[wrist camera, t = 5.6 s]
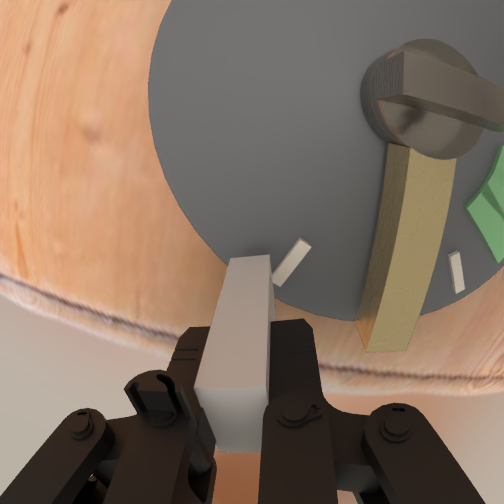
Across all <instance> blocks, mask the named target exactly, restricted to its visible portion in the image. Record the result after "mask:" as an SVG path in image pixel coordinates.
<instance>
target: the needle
mask: <svg viewBox="0 0 504 504" xmlns="http://www.w3.org/2000/svg"><path fill="white" fill-rule="evenodd" d="M361 104H362V108H363V112H364V114H365V117H366V119H367V121H368V123H369V125H370V126H371V127H372V129H373V130H374V131H375V133H376V134H377V135H378V136H379V137H380V138H381V139H382V140H384V141H385V142H387V143H388V151H387V160H386V168H385V176H384V184H383V191H382V198H381V204H380V211H379V217H378V223H377V228H376V234H375V239H374V245H373V250H372V255H371V260H370V264H369V269H368V274H367V278H366V283H365V287H364V291H363V296H362V300H361V304H360V308H359V312H358V316H357V320H356V326H357V328H358V331H359V334H360V337H361V340H362V343H363V346H364V349H365V352H396V351H406V349H407V346H408V344H409V341H410V339H411V336H412V334H413V331H414V328H415V325H416V323H417V320H418V317H419V314H420V311H421V308H422V306H423V303H424V300H425V296H426V293H427V290H428V287H429V284H430V280H431V277H432V274H433V270H434V267H435V263H436V259H437V256H438V252H439V248H440V244H441V240H442V236H443V231H444V227H445V222H446V218H447V213H448V208H449V203H450V197H451V192H452V186H453V180H454V173H455V166H456V159H457V157H460V156H462V155H464V154H466V153H467V152H468V151H470V150H471V149H472V148H473V147H474V146H475V144H476V143H477V142H478V140H479V138H480V136H481V134H482V132H483V129H484V128H485V129H488V130H490V131H496V132H502V133H504V87H502V86H500V85H498V84H495V83H493V82H491V81H489V80H486V79H484V78H482V77H479V76H478V75H477V73H476V71H475V69H474V68H473V66H472V65H471V64H470V62H469V61H468V60H467V59H466V58H465V57H464V56H463V55H462V54H461V53H460V52H459V51H457V50H456V49H455V48H453V47H451V46H450V45H448V44H446V43H444V42H441V41H438V40H434V39H428V38H425V39H415V40H412V41H409V42H407V43H405V44H403V45H401V46H399V47H397V48H395V49H394V50H392V51H390V52H388V53H386V54H384V55H382V56H381V57H379V58H377V59H376V60H375V61H374V62H373V63H372V64H371V65H370V66H369V67H368V69H367V70H366V72H365V74H364V77H363V80H362V83H361Z"/></svg>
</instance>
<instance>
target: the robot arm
mask: <svg viewBox="0 0 504 504" xmlns="http://www.w3.org/2000/svg"><path fill="white" fill-rule="evenodd" d="M124 390H125V392H126V394H127V396H128V398H129V399H130V401H131V403H132V405H133V406H134V408H135V410H136V412H137V414H136V415H134V416H130V417H125V418H118V419H111V420H106V419H105V418H104V416H103V415H102V414H101V413H100V412H99V411H97V410H95V409H90V408H85V409H79V410H77V411H75V412H72V413H71V414H70V415H68V416H67V417H66V418H65V419H64V420H63V421H62V422H61V424H60V425H59V426H58V427H57V428H56V429H55V431H54V432H53V433H52V434H51V436H50V437H49V438H48V439H47V440H46V441H45V443H44V444H43V445H42V446H41V447H40V448H39V450H38V451H37V452H36V453H35V455H34V456H33V457H32V458H31V459H30V460H29V462H28V463H27V464H26V465H25V467H24V468H23V469H22V470H21V471H20V473H19V474H18V475H17V476H16V477H15V479H14V480H13V481H12V482H11V484H10V485H9V486H8V487H7V489H6V490H5V491H4V492H3V494H2V495H1V496H0V504H212V499H213V491H214V485H215V479H216V472H217V466H216V462H215V459H214V457H213V455H214V450H215V444H216V445H217V447H218V449H219V452H261V461H260V462H261V463H260V478H259V494H258V504H338V498H337V490H343V491H351V492H353V494H354V496H355V498H356V501H357V502H358V504H485V502H484V501H483V499H482V498H481V496H480V495H479V493H478V492H477V490H476V489H475V487H474V486H473V484H472V483H471V481H470V480H469V478H468V477H467V476H466V474H465V473H464V471H463V470H462V468H461V467H460V465H459V464H458V462H457V461H456V460H455V458H454V457H453V455H452V454H451V452H450V451H449V450H448V448H447V447H446V445H445V444H444V443H443V441H442V440H441V438H440V437H439V436H438V434H437V433H436V431H435V430H434V429H433V427H432V426H431V424H430V423H429V422H428V420H427V419H426V418H425V416H424V415H423V414H422V413H421V412H420V411H419V410H418V409H416V408H415V407H412V406H410V405H407V404H403V403H402V404H401V403H391V404H387V405H382V406H381V407H379V408H377V409H376V410H374V411H373V412H372V413H371V414H370V416H369V415H359V414H350V413H347V412H342V411H340V410H337V409H336V408H334V407H333V406H331V405H330V404H329V403H328V402H327V401H326V399H325V398H324V396H323V392H322V388H321V381H320V374H319V367H318V360H317V354H316V348H315V342H314V335H313V329H312V327H311V326H310V325H309V324H308V323H307V322H306V321H305V319H294V320H283V321H276V307H275V298H274V289H273V280H272V271H271V263H270V254H269V255H259V256H248V257H238V258H230V261H229V265H228V268H227V271H226V275H225V278H224V282H223V285H222V289H221V292H220V296H219V299H218V303H217V306H216V310H215V313H214V317H213V320H212V324H211V326H209V327H189V328H188V329H187V330H186V331H185V332H184V333H183V334H182V335H181V337H180V338H179V340H178V343H177V345H176V348H175V351H174V353H173V355H172V358H171V361H170V363H169V366H168V368H167V371H164V370H153V371H147V372H144V373H142V374H139V375H137V376H136V377H134V378H133V379H132V380H130V381H129V382H128V384H127V385H126V386H125V388H124ZM92 474H93V475H92ZM91 475H92V476H91ZM90 476H91V477H90Z"/></svg>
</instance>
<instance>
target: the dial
mask: <svg viewBox="0 0 504 504" xmlns="http://www.w3.org/2000/svg"><path fill="white" fill-rule="evenodd" d="M425 38H428V39H434V40H438V41H441V42H444V43H446V44H448V45H450V46H451V47H453V48H455V49H456V50H457V51H459V52H460V53H461V54H462V55H463V56H464V57H465V58H466V59H467V60H468V61H469V62H470V64H471V65H472V66H473V68H474V69H475V71H476V73H477V75H478V76H479V77H482V78H484V79H486V80H489V81H491V82H493V83H495V84H498V85H500V86H502V87H504V0H172V1H171V3H170V5H169V7H168V9H167V11H166V13H165V15H164V17H163V20H162V22H161V24H160V27H159V30H158V34H157V37H156V41H155V44H154V48H153V51H152V56H151V64H150V72H149V81H148V99H149V118H150V123H151V129H152V135H153V140H154V145H155V149H156V152H157V155H158V158H159V161H160V164H161V167H162V170H163V173H164V176H165V178H166V181H167V183H168V185H169V187H170V189H171V191H172V193H173V195H174V197H175V199H176V201H177V203H178V205H179V207H180V208H181V210H182V211H183V213H184V214H185V216H186V217H187V219H188V220H189V222H190V223H191V225H192V226H193V227H194V229H195V230H196V232H197V233H198V234H199V236H200V237H201V238H202V239H203V240H204V241H205V242H206V243H207V245H208V246H209V247H210V248H211V249H212V250H213V251H214V253H215V254H216V255H217V256H218V257H219V258H220V259H221V260H223V261H224V262H225V263H226V264H227V265H229V261H230V258H238V257H248V256H259V255H269V254H270V263H271V271H272V280H273V289H274V298H276V299H278V300H280V301H282V302H284V303H286V304H288V305H290V306H293V307H296V308H299V309H302V310H304V311H307V312H310V313H313V314H316V315H320V316H325V317H330V318H334V319H339V320H346V321H356V320H357V316H358V312H359V308H360V304H361V300H362V296H363V291H364V287H365V283H366V278H367V274H368V269H369V264H370V260H371V255H372V250H373V245H374V239H375V234H376V228H377V223H378V217H379V211H380V204H381V198H382V191H383V184H384V176H385V168H386V160H387V151H388V143H387V142H385V141H384V140H382V139H381V138H380V137H379V136H378V135H377V134H376V133H375V131H374V130H373V129H372V127H371V126H370V125H369V123H368V121H367V119H366V117H365V114H364V112H363V108H362V104H361V83H362V80H363V77H364V74H365V72H366V70H367V69H368V67H369V66H370V65H371V64H372V63H373V62H374V61H375V60H376V59H377V58H379V57H381V56H382V55H384V54H386V53H388V52H390V51H392V50H394V49H395V48H397V47H399V46H401V45H403V44H405V43H407V42H409V41H412V40H415V39H425ZM503 265H504V133H502V132H496V131H490V130H488V129H485V128H484V129H483V132H482V134H481V136H480V138H479V140H478V142H477V143H476V144H475V146H474V147H473V148H472V149H471V150H470V151H468V152H467V153H466V154H464V155H462V156H460V157H457V159H456V166H455V173H454V180H453V186H452V192H451V197H450V203H449V208H448V213H447V218H446V222H445V227H444V231H443V236H442V240H441V244H440V248H439V252H438V256H437V259H436V263H435V267H434V270H433V274H432V277H431V280H430V284H429V287H428V290H427V293H426V296H425V300H424V303H423V306H422V308H421V311H420V314H419V316H420V315H423V314H426V313H430V312H433V311H436V310H439V309H441V308H443V307H445V306H447V305H450V304H452V303H454V302H456V301H458V300H460V299H462V298H463V297H465V296H466V295H468V294H469V293H471V292H473V291H474V290H476V289H477V288H479V287H480V286H481V285H482V284H484V283H485V282H486V281H487V280H489V279H490V278H491V277H492V276H493V275H495V274H496V273H497V272H498V271H499V270H500V269H501V268H502V266H503Z"/></svg>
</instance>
